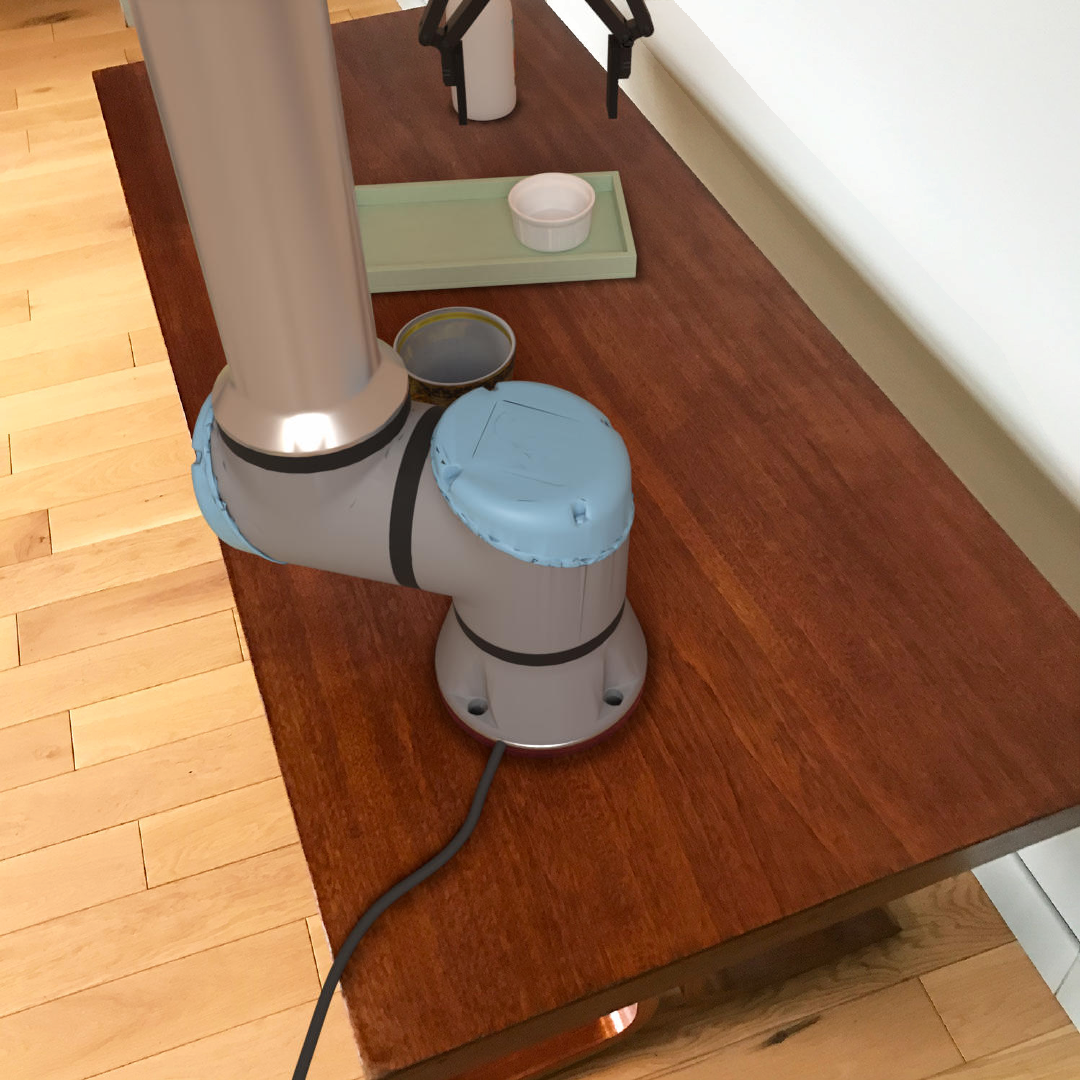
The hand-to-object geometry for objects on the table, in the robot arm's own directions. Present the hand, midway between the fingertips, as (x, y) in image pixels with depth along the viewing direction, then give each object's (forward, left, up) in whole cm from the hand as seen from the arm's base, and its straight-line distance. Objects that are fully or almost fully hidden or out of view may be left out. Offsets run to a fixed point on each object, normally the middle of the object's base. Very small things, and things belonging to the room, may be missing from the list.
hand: (537, 115), depth 102 cm
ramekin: (+4, -2, -16) cm, 16 cm away
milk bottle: (+32, +4, -16) cm, 36 cm away
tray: (+4, +5, -16) cm, 17 cm away
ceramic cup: (-26, +9, -16) cm, 32 cm away
